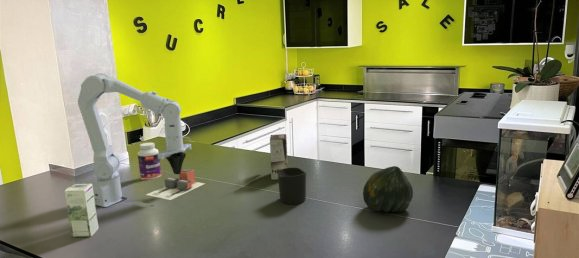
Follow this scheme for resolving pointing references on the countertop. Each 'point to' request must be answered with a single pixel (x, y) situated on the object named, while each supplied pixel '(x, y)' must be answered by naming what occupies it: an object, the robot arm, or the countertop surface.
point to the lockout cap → (187, 175)
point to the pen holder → (292, 185)
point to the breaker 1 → (171, 182)
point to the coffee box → (278, 154)
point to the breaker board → (172, 192)
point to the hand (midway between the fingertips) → (177, 173)
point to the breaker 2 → (184, 185)
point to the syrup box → (81, 210)
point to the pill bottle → (149, 161)
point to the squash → (388, 190)
